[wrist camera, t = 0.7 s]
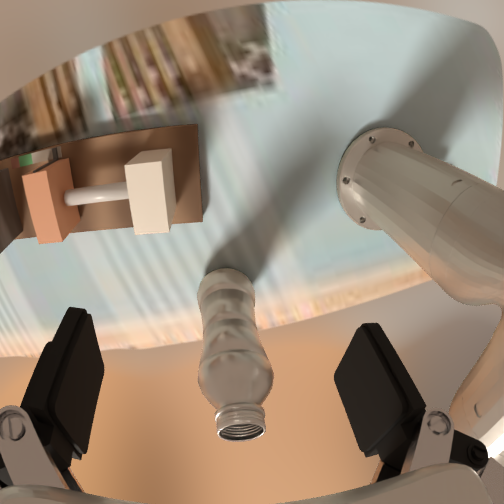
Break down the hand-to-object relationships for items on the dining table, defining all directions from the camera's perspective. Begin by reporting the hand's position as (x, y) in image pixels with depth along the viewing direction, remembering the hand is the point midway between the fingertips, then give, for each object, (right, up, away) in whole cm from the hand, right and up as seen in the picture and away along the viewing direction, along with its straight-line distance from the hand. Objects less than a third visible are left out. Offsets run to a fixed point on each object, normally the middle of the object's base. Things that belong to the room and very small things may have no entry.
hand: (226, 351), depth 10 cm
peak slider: (-19, +10, +17) cm, 27 cm away
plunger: (-12, +10, +18) cm, 24 cm away
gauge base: (-17, +11, +19) cm, 28 cm away
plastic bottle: (-2, 0, +27) cm, 27 cm away
